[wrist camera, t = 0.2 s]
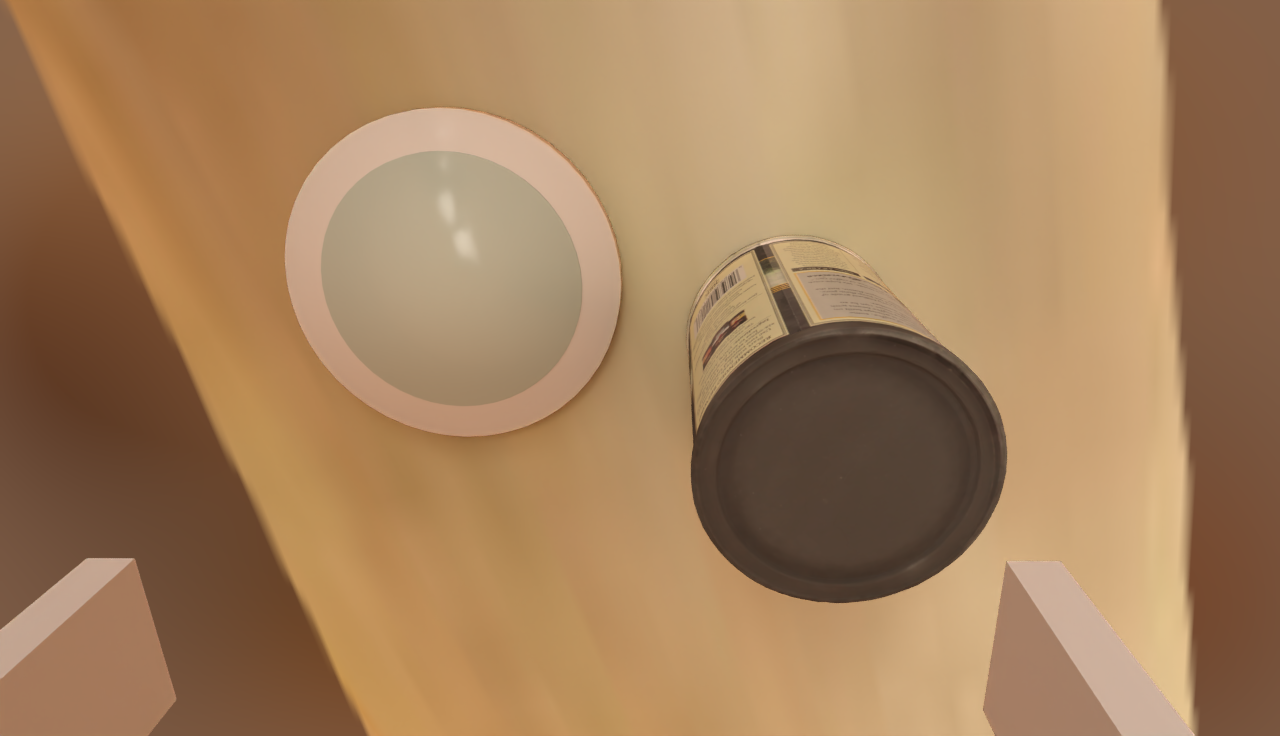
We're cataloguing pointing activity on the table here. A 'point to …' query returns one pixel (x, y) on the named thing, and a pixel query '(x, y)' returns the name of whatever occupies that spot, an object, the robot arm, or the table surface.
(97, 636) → the robot arm
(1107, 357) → the table surface
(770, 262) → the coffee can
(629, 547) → the table surface
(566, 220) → the plate
